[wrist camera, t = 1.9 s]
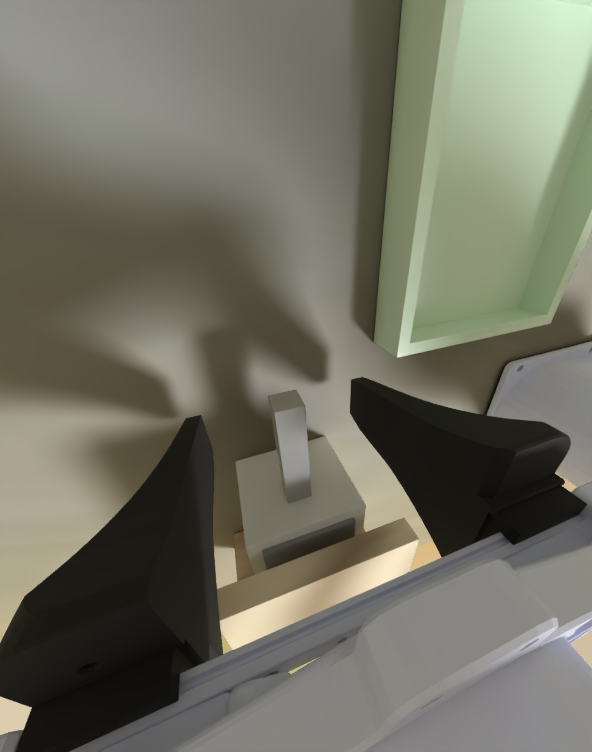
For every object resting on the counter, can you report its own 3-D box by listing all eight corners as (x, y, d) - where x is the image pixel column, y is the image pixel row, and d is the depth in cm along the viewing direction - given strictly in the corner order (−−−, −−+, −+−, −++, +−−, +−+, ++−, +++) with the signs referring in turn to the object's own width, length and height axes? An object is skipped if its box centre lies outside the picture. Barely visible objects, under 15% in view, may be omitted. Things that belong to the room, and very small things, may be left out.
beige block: (348, 437, 17) (419, 539, 11) (345, 511, 21) (396, 612, 15) (212, 476, 15) (215, 622, 9) (238, 549, 19) (251, 680, 13)
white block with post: (322, 356, 13) (378, 414, 9) (326, 510, 20) (359, 587, 16) (212, 378, 12) (214, 459, 8) (256, 534, 19) (270, 625, 14)
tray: (627, -3, 10) (716, -53, 8) (513, 314, 16) (550, 323, 14) (405, -40, 8) (462, -120, 6) (373, 342, 14) (397, 357, 12)
